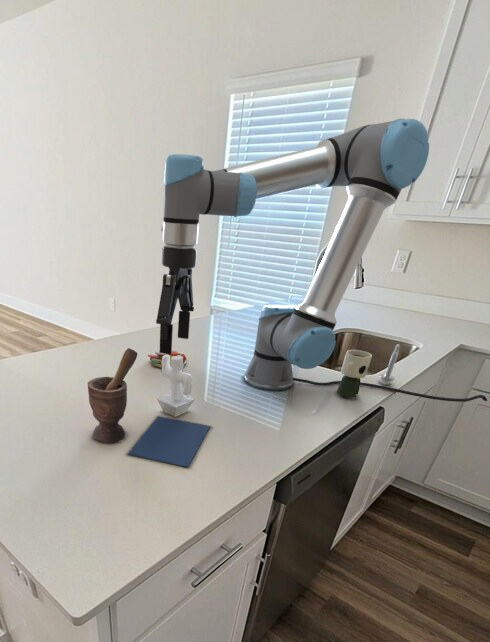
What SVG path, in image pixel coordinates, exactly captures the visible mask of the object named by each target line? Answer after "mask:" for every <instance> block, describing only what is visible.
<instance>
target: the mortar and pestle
mask: <svg viewBox="0 0 490 642" xmlns="http://www.w3.org/2000/svg"><path fill="white" fill-rule="evenodd" d="M137 358H138V352H137V351H135V350H134V349H132V348H130V347H129V348H128V347H127V348H126V350H125V351H124V353H123V355H122V357H121V359H120V362H119V364H118V368H117V370H116V372H115V374H114V376H100V377H99V376H98V377H94V378H92V379H90V380H88V381H87V384H86V385H87V389H88V390H87V392H88V393H87V394H88V403H89V406H90V408H91V411H92V415H93V418H94V419H95V420H96V421H97V422H98V425H96V426H95V427H94V429H93V439H94V440H97V441H100V442H103V443H114V442H118V441H121V440H122V439H123V438H124V437H125V436H126V432H125V429H124V427H123V426H122V425H121V424H120V423H119V422H120V421H121V420H122V419H123V417H124V416H125V412H126V409H127V403H128V384H127V382H126V381H125V380H124V379H126V376H127V374H128V372H129V371H130V370H131V368H132V367H133V366H134V365H135V362H136V360H137Z"/></svg>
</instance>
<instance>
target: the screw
mask: <svg viewBox="0 0 490 642" xmlns="http://www.w3.org/2000/svg"><path fill="white" fill-rule="evenodd" d="M400 348H401V344H400V343H398V344H396V345H395V347H394V349H393V352H392V353H391V357H390V359H389V362H388V364H387V367H386V370H385V373H382V374H381V373H380V374H379V375H378V378H379V380H380V384H381V385H383V386H388V385H390V383H391V382H394V381H395V377H394V376H393V375H392V373H393V370H394V368H395V365H396V362H397V359H398V357H399V356H398V355H399V354H400Z"/></svg>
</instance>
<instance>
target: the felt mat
mask: <svg viewBox="0 0 490 642" xmlns="http://www.w3.org/2000/svg"><path fill="white" fill-rule="evenodd" d="M210 427H211V426H210V425H206V424H200V423H195V422H190V421H185V420H179V419H173V418H168V417H164V416H157V418H156V419H154V421H153V423H151V425H150V426H149V427H148V428H147V430H146V431H145V432H144V433H143V434H142V436H141V437H140V438H139V439H138V441H136V443H135V444H134V446H133V447H131V449H130V451H128V453H127V456H132V457H137V458H141V459H146V460H151V461H155V462H158V463H159V462H160V463H163V464H164V463H165V464H168V465H169V464H170V465H174V466H178V467H183V468H189V466H190V465H191V463H192V461H193V458H194V457H195V455H196V453H197V451H198V449H199V448H200V447H201V444H202V443H203V440H204V439H205V437H206V435H207V434H208V432H209V430H210Z"/></svg>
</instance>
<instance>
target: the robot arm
mask: <svg viewBox="0 0 490 642" xmlns="http://www.w3.org/2000/svg"><path fill="white" fill-rule="evenodd" d="M429 154H430V142H429V133H428V130H427V128H426V127H425V125H424V124H423V122H421V121H420V120H418V119H415V118H396V119H394V120H391V121H385V122H380V123H379V122H378V123H372V124H367V125H363V126H359V127H356V128H354V129H352V130H349V131H347V132H344V133H341V134H338V135H336V136H335V135H334V136H332V137H329V138H325V139H322V140H320V141H319V142H318V143H317V144H316V146H314V147H310V148H306V149H305V148H304V149H301V150H297V151H293V152H288V153H284V154H280V155H275V156H272V157H267V158H262V159H259V160H255V161H251V162H247V163H242V164H238V165H233V166H229V167H225V168H222V169H217V170H208V169H205V167H204V160H203V158H202V157H201V156H200V155H193V154H183V153H175V154H169V155H168V156H167V157H166V159H165V165H164V174H163V175H164V177H163V222H162V225H163V226H161V228H160V231H161V232H162V243H163V244H164V245H163V247H162V248H161V249H162V250H161V264H162V266H163V267H165V268H168V274H167V273H166V274H165V273H164V274H163V276H162V286H161V293H160V299H159V305H158V309H157V316H156V319H155V321H156V322H155V323H156V324H157V325H160V327H159V351H160V353H165V354H171V353H172V351H173V331H174V330H173V329H174V328H173V327H174V324H172V322H173V318H174V314H175V311H176V306H177V302H178V304H179V308H180V310H179V311H178V323H177V324H178V326H177V338H178V339H184V340H188V339H189V337H190V320H191V312H192V313H193V312H194V310H195V307H194V293H193V279H192V278H193V269H194V268H195V267H196V265H197V252H198V250H197V249H196V246H197V245H198V239H199V226H200V225H199V224H200V215H202V216H204V215H208V216H209V215H210V216H220V217H234V218H238V217H248V216H249V215H250V214H251V213H252V212H253V210H254V208H255V206H256V201H257V200H262V199H265V198H270V197H274V196H278V195H282V194H286V193H290V192H295V191H298V190H303V189H307V188H311V187H315V186H316V187H317V188H319V189H326V188H330V187H346V191H347V194H348V199H347V202H346V203H345V207H344V209H343V211H342V214H341V217H340V219H339V221H338V223H337V225H336V226H335V229H334V232H333V234H332V237H331V239H330V241H329V243H328V246H327V248H326V250H325V253H324V255H323V257H322V259H321V262H320V264H319V266H318V269H317V271H316V273H315V275H314V278H313V280H312V281H311V285H310V287H309V289H308V292H307V293H306V296H305V298H304V301H303V302H302V303H300V304H298V305H291V304H289V305H287V304H268V305H264V306H263V307H262V308H261V311H260V313H259V316H258V325H257V332H256V336H255V337H256V338H255V346H254V351H253V355H252V358H251V360H250V361H249V364H248V366H247V368H246V370H245V373H244V378H243V379H244V382H245V383H246V384H248V385H249V386H251V387H254V388H256V389H261V390H266V391H283V390H287V389H289V388H291V387H292V386H293V381H295V382H298V383H306V384H308V385H309V384H310V385H313V386H322V387H323V386H324V387H325V386H330V385H331V386H332V385H339V384H340V382H341V380H333V381H327V382H326V381H325V382H318V381H312V380H308V379H303V378H298V377H294V373H293V366H296V367H298V368H300V369H303V370H312V369H315V368H317V367H318V366H320V365H322V364H324V363H325V362H326V361H327V360H328V359H329V358H330V357H331V355H332V354H333V352H334V350H335V347H336V342H337V341H336V334H335V333H334V330H335V327H336V325H337V323H338V321H337V318H336V311H337V310H338V307H339V305H340V303H341V301H342V299H343V297H344V295H345V293H346V290H347V288H348V287H349V284H350V283H351V280H352V279H353V276H354V274H355V272H356V270H357V268H358V266H359V264H360V261H361V259H362V257H363V255H364V253H365V251H366V249H367V247H368V245H369V243H370V241H371V239H372V236H373V235H374V232H375V230H376V228H377V226H378V224H379V221H381V217H382V216H383V213H384V211H385V210H386V209H388V207H389V208H390V207H391V206H393V205H395V204H396V202H397V200H398V198H399V196H400V193H401V192H402V190H403V189H405V188H407V187H410V186H411V185H412V183H415V182H416V181H417V180H418V179H419V177H420V176H421V175H422V173H423V171H424V170H425V167H426V165H427V163H428V158H429ZM360 386H364V387H371V388H375V389H380V390H386V391H392V392H395V393H399V394H405V395H409V396H414V397H419V398H424V399H430V400H436V401H444V402H461V403H462V402H463V403H464V402H465V403H466V402H471V401H474V400H477V399H482V400H483V401H484V402H488V398H487V397H486V396H485V395H483V394H477V395H474V396H471V397H467V398H457V397H456V398H455V397H444V396H443V397H442V396H434V395H429V394H424V393H418V392H414V391H413V392H412V391H408V390H404V389H401V388H400V389H399V388H396V387H395V388H394V387H390V386H386V385H379V384H375V383H368V382H362V381H360Z"/></svg>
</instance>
